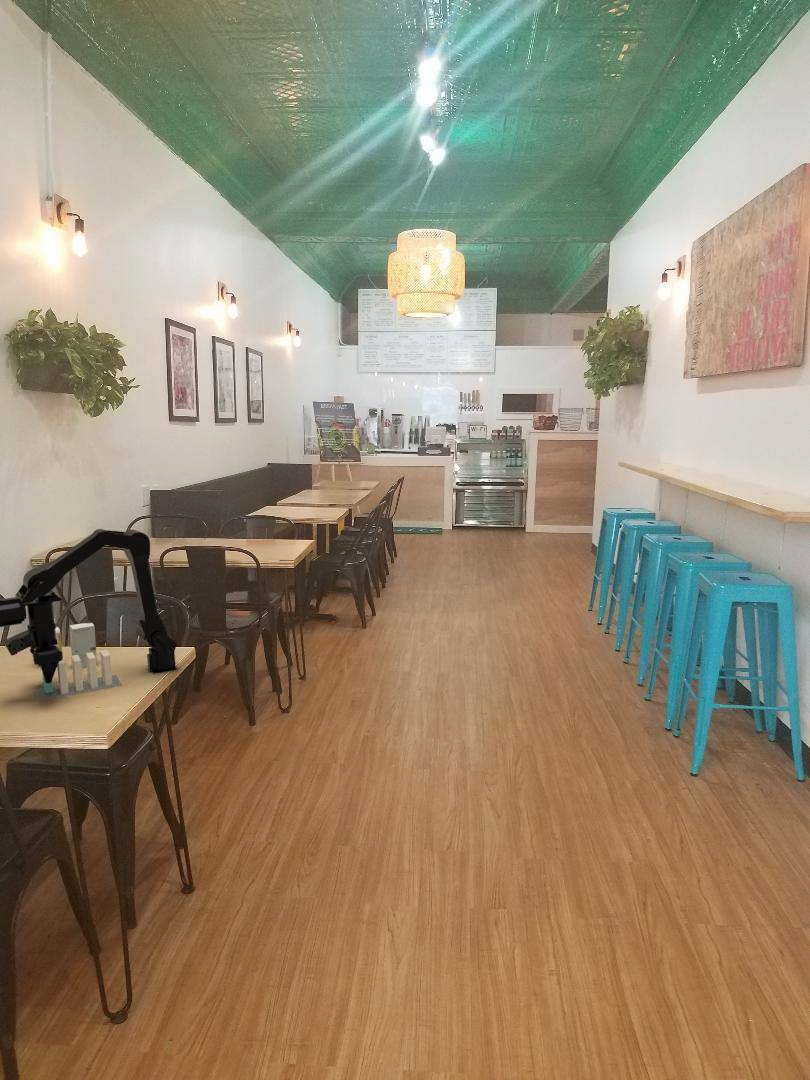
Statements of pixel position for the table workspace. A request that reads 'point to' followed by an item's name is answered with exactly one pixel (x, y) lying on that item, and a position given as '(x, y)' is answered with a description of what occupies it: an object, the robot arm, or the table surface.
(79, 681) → the domino
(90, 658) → the domino
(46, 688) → the teal domino
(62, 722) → the table surface
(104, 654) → the domino
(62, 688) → the domino
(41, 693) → the mat
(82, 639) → the skincare box
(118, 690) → the table surface
